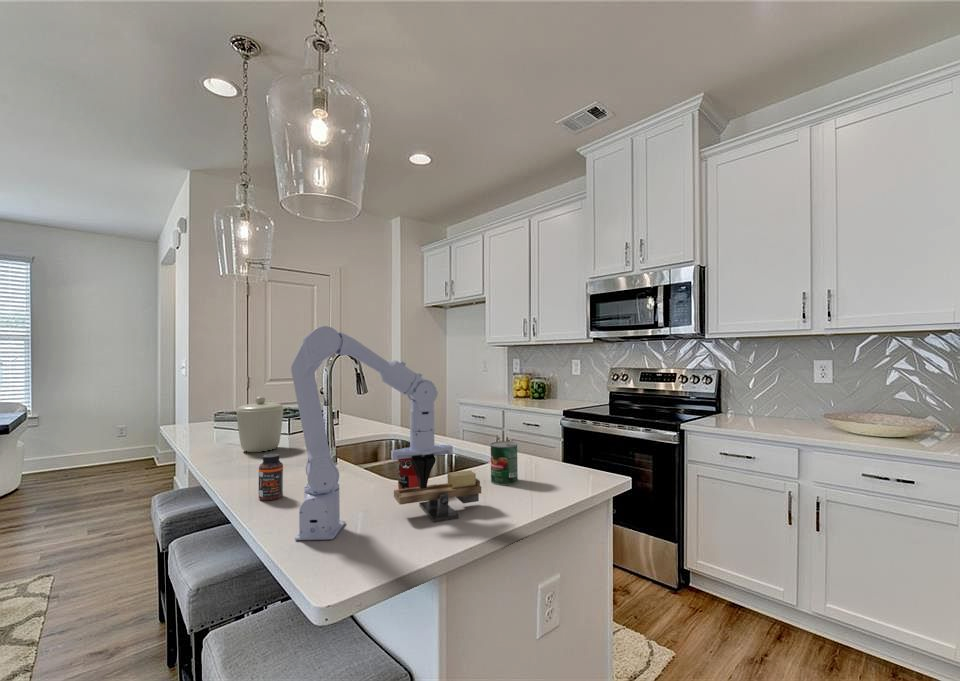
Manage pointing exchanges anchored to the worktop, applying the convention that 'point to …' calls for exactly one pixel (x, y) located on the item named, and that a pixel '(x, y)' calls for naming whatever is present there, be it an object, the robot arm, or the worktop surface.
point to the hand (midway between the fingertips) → (422, 487)
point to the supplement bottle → (270, 478)
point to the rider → (461, 479)
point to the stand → (439, 509)
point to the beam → (437, 493)
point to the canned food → (406, 474)
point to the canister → (259, 425)
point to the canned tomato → (504, 463)
